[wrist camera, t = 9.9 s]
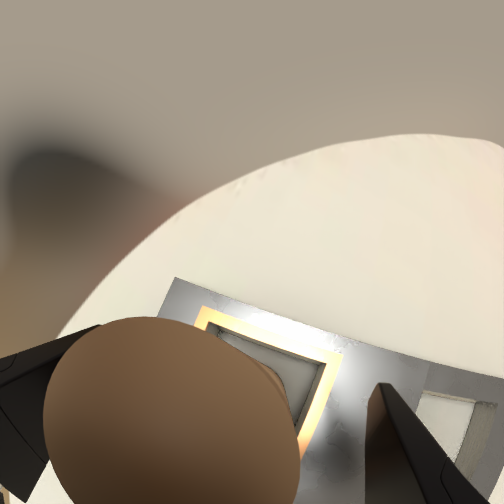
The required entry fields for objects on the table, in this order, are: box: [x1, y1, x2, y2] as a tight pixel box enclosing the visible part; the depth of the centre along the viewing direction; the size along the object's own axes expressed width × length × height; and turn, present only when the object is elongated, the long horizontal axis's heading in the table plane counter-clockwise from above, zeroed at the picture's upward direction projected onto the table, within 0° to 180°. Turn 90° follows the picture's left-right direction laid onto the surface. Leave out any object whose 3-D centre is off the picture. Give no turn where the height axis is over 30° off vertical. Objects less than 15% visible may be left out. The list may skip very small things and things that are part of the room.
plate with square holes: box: [157, 277, 504, 504], centre depth 12 cm, size 23×9×3 cm, turn 69°
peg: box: [43, 317, 301, 504], centre depth 9 cm, size 4×4×13 cm
